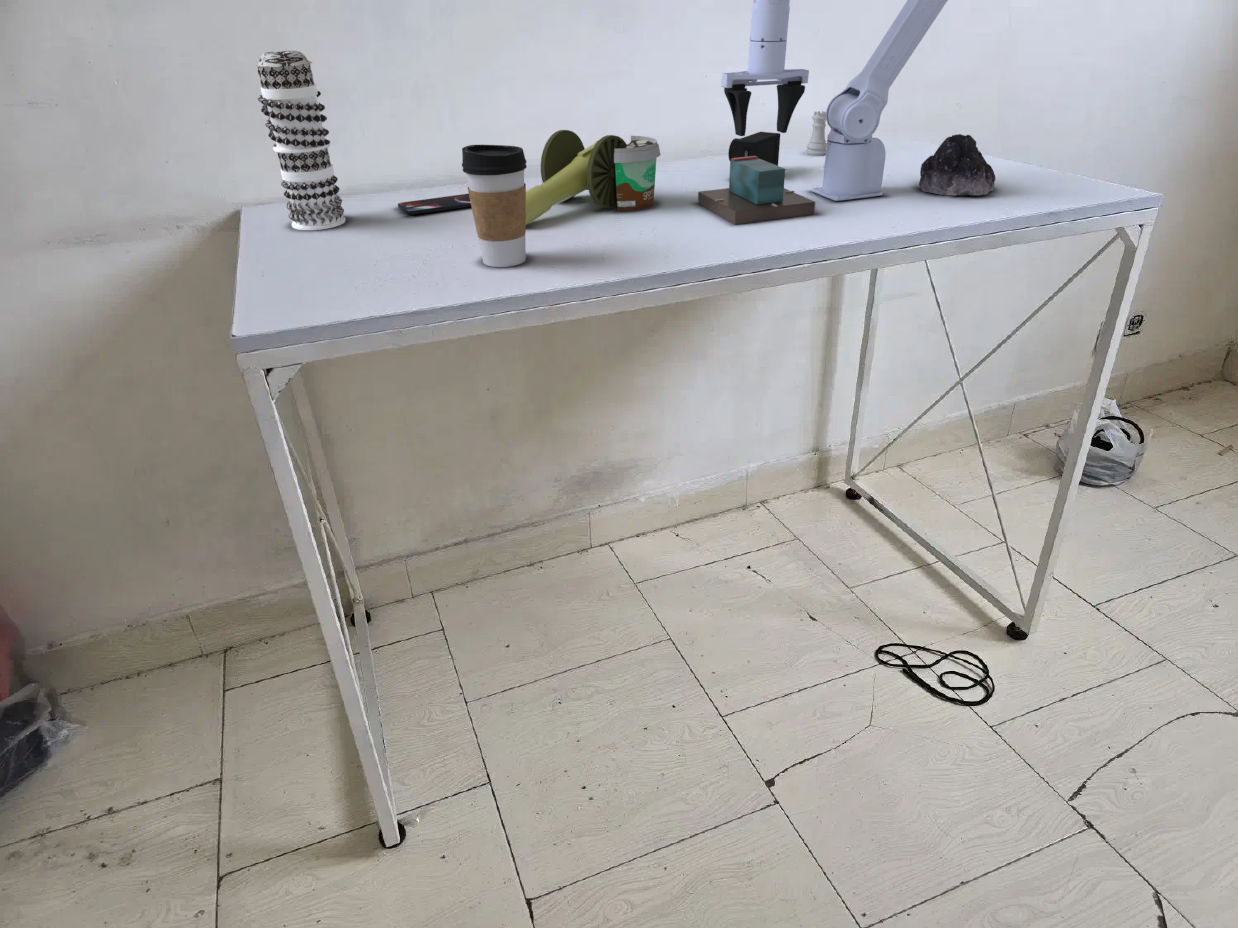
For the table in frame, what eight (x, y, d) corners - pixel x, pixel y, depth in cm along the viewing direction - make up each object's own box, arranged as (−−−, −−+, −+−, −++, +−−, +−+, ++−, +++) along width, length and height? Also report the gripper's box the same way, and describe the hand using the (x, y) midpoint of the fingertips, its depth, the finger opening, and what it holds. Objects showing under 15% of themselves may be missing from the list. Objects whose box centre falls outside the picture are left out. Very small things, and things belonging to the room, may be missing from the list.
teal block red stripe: (783, 201, 127) (785, 167, 125) (757, 204, 126) (759, 170, 123) (753, 188, 135) (755, 155, 133) (728, 191, 134) (730, 158, 131)
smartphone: (493, 200, 138) (406, 212, 133) (493, 204, 139) (407, 216, 133) (479, 191, 144) (396, 203, 138) (479, 195, 144) (396, 206, 139)
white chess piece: (805, 155, 166) (809, 114, 162) (805, 151, 170) (808, 110, 166) (827, 155, 166) (832, 114, 161) (826, 151, 169) (831, 110, 165)
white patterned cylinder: (287, 220, 134) (246, 52, 120) (344, 213, 137) (310, 48, 123) (291, 234, 126) (248, 57, 113) (351, 226, 129) (316, 52, 116)
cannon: (541, 234, 122) (535, 156, 116) (486, 223, 129) (478, 148, 123) (639, 199, 139) (638, 129, 133) (586, 191, 145) (583, 124, 139)
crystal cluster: (962, 181, 147) (966, 123, 142) (1016, 191, 135) (1023, 127, 130) (898, 195, 144) (900, 136, 139) (948, 206, 132) (952, 142, 128)
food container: (652, 215, 130) (651, 150, 125) (615, 213, 132) (613, 149, 126) (666, 196, 140) (667, 135, 135) (632, 195, 142) (631, 135, 136)
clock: (772, 194, 140) (773, 182, 138) (815, 214, 128) (816, 200, 127) (697, 203, 136) (697, 190, 135) (734, 224, 124) (735, 210, 123)
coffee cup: (476, 253, 115) (462, 142, 108) (534, 250, 116) (525, 139, 108) (471, 272, 108) (456, 155, 100) (534, 268, 109) (524, 152, 101)
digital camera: (752, 168, 157) (754, 130, 154) (777, 171, 155) (780, 132, 151) (726, 179, 150) (728, 139, 147) (752, 182, 148) (754, 142, 144)
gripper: (796, 37, 130) (787, 126, 137) (714, 40, 126) (710, 132, 133) (819, 40, 125) (809, 133, 132) (734, 44, 121) (729, 140, 128)
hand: (761, 133), depth 132 cm, fingers open, 7 cm apart
